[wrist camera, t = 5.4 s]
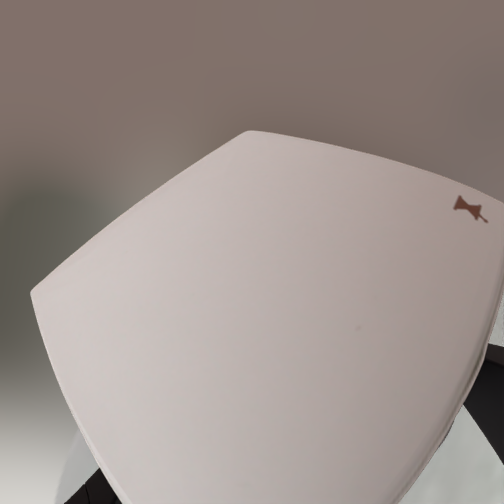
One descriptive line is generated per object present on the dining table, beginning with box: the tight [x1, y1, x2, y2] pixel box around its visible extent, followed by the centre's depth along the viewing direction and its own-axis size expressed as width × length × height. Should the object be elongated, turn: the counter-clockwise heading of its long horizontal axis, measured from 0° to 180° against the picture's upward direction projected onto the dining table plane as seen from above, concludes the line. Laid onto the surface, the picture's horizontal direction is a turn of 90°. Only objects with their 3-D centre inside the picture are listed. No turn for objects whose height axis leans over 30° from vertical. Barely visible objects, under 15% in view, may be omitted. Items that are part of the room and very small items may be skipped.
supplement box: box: [30, 131, 504, 504], centre depth 9 cm, size 7×7×13 cm
